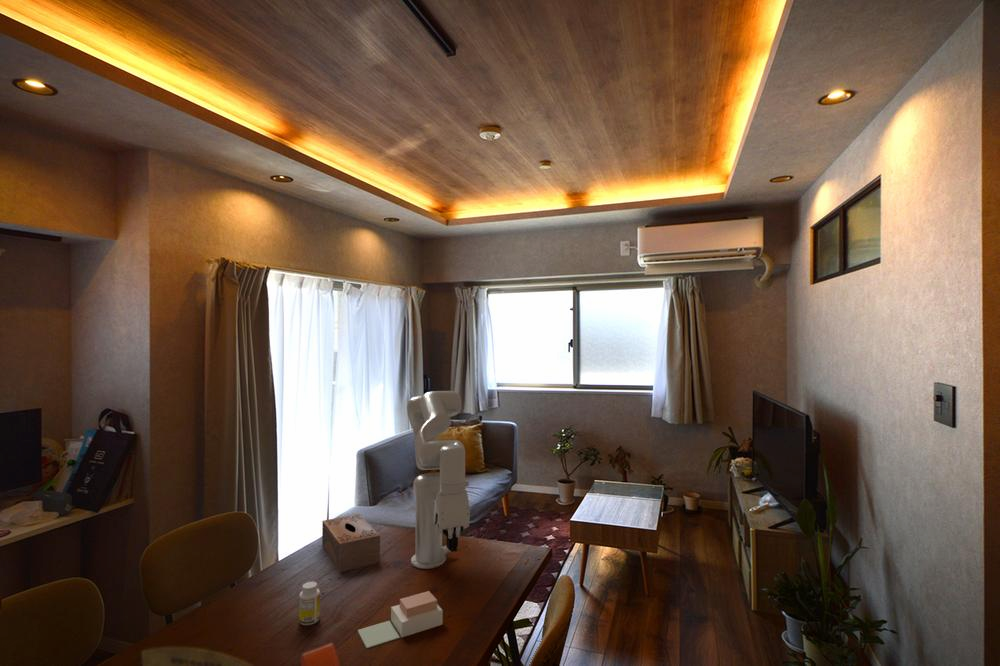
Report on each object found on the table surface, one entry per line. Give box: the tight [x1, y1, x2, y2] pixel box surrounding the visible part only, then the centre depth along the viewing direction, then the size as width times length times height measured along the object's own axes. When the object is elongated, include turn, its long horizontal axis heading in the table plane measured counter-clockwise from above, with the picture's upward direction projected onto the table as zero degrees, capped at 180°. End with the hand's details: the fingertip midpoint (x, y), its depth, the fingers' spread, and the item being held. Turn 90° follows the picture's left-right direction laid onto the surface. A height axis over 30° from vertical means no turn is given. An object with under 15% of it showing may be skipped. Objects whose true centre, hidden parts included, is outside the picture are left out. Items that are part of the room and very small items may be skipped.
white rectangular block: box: [390, 603, 444, 638], centre depth 140 cm, size 12×9×4 cm
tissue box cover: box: [321, 513, 381, 573], centre depth 185 cm, size 26×14×10 cm, turn 32°
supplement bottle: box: [298, 581, 321, 626], centre depth 140 cm, size 6×6×10 cm
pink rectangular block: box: [399, 590, 438, 618], centre depth 140 cm, size 9×6×2 cm, turn 121°
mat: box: [357, 620, 401, 649], centre depth 134 cm, size 9×9×1 cm
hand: (452, 549), depth 145 cm, fingers closed
